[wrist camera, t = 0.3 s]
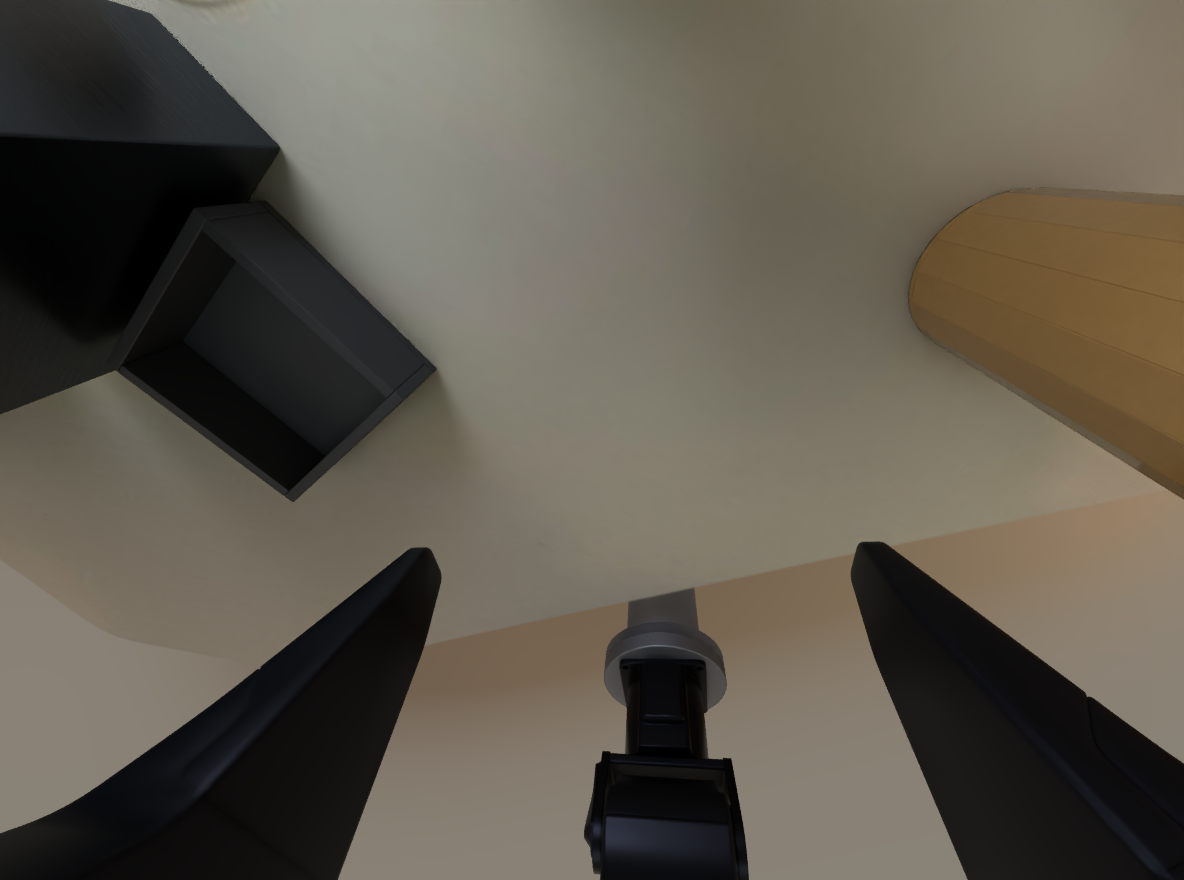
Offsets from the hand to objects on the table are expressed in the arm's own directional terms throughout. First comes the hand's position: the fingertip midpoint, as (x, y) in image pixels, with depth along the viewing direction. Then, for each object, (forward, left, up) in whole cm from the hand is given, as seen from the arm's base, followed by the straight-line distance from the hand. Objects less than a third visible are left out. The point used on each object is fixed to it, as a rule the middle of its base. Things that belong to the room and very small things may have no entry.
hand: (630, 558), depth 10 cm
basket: (+1, +19, -15) cm, 24 cm away
